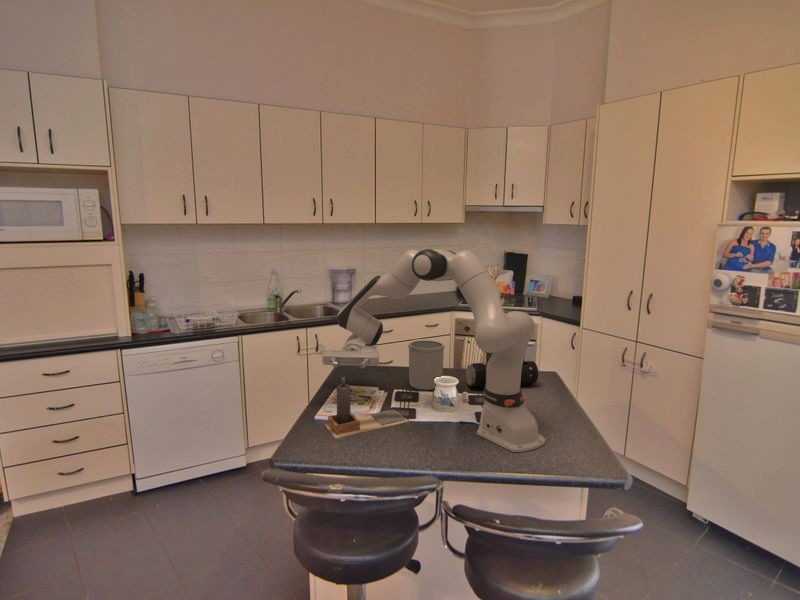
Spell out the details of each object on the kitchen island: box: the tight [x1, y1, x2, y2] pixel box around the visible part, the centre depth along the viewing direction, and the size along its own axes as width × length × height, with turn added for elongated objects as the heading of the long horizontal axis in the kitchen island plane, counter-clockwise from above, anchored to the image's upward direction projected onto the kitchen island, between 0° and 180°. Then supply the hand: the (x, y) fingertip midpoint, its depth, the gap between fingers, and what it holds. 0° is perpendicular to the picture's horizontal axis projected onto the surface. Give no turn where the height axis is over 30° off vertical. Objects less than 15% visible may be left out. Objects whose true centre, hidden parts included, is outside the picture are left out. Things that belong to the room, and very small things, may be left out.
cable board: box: [323, 408, 410, 439], centre depth 156 cm, size 11×26×4 cm, turn 118°
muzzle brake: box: [465, 360, 539, 389], centre depth 192 cm, size 10×28×10 cm, turn 100°
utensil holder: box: [407, 338, 445, 391], centre depth 194 cm, size 15×15×18 cm
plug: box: [336, 376, 352, 425], centre depth 152 cm, size 4×4×17 cm
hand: (348, 365), depth 162 cm, fingers open, 8 cm apart
